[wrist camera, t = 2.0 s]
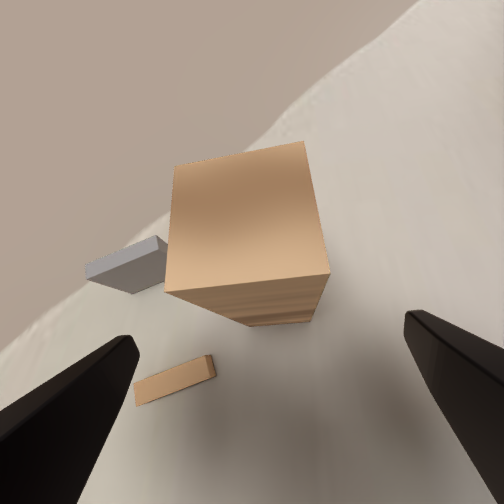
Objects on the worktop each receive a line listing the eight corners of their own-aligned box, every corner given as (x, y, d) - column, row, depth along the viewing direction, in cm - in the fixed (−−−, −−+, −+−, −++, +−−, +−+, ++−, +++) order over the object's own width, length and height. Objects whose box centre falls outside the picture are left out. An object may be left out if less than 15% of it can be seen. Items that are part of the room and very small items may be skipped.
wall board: (216, 375, 17) (185, 386, 13) (146, 402, 17) (92, 422, 13) (186, 259, 21) (155, 234, 17) (130, 281, 21) (85, 264, 17)
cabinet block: (310, 321, 17) (330, 273, 6) (249, 326, 18) (164, 292, 7) (301, 263, 19) (303, 140, 8) (246, 270, 20) (174, 166, 8)
